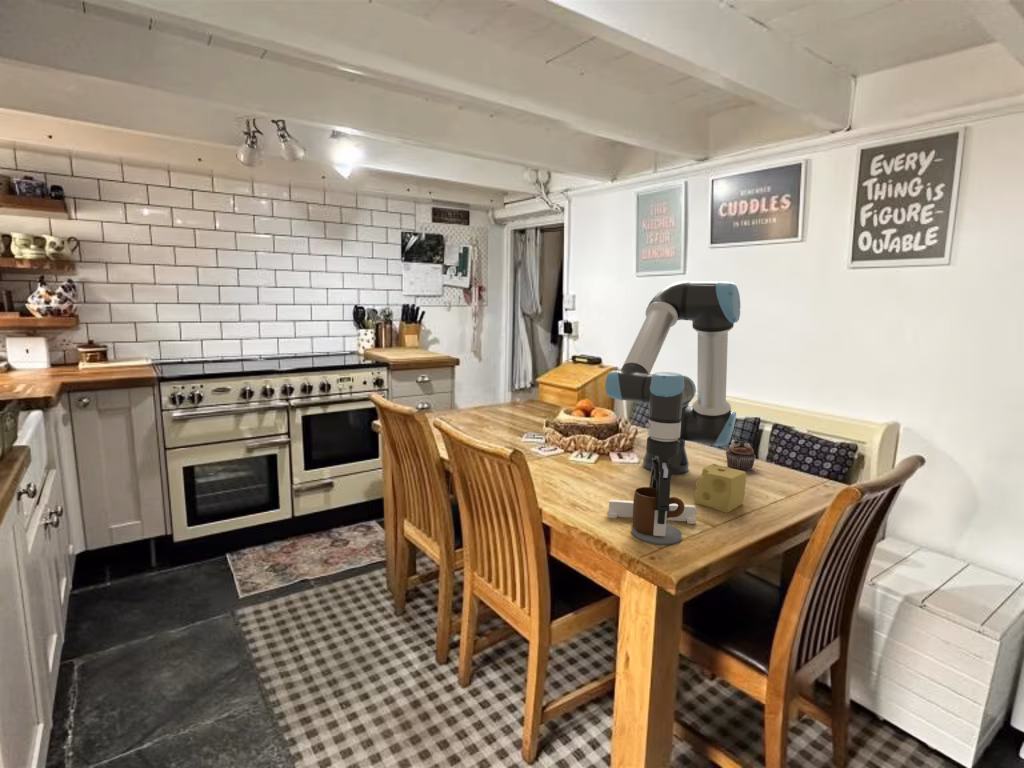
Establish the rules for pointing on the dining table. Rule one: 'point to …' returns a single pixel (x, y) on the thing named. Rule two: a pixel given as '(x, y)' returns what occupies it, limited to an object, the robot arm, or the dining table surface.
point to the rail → (626, 510)
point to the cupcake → (740, 455)
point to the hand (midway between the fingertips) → (656, 527)
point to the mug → (650, 509)
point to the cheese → (720, 488)
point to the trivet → (670, 537)
